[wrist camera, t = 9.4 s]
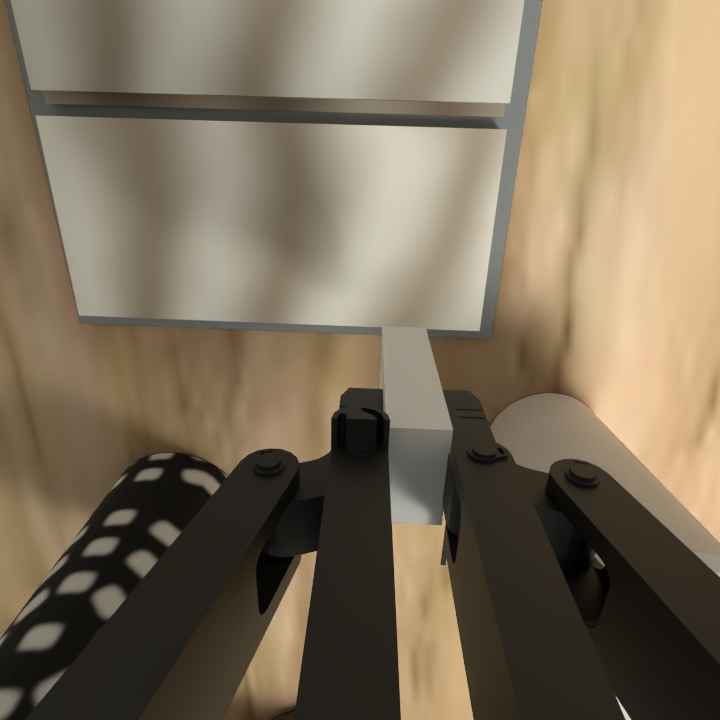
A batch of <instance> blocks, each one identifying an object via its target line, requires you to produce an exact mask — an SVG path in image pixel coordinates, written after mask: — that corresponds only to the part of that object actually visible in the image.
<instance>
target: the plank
mask: <svg viewBox="0 0 720 720" xmlns="http://www.w3.org/2000/svg"><path fill="white" fill-rule="evenodd" d="M35 116H36V120H37V125H38V130H39V134H40V139H41V143H42V148H43V152H44V157H45V162H46V166H47V171H48V175H49V180H50V185H51V189H52V194H53V198H54V203H55V208H56V212H57V217H58V221H59V226H60V231H61V235H62V240H63V244H64V249H65V254H66V258H67V263H68V267H69V272H70V277H71V281H72V286H73V290H74V295H75V300H76V304H77V309H78V313H79V316H104V317H129V318H155V319H180V320H206V321H232V322H257V323H283V324H308V325H334V326H360V327H382V326H393V327H421V328H426V329H437V330H462V331H480V324H481V317H482V309H483V302H484V294H485V287H486V280H487V272H488V265H489V258H490V250H491V243H492V236H493V228H494V221H495V213H496V206H497V199H498V191H499V184H500V177H501V169H502V162H503V155H504V147H505V140H506V132H507V129H475V128H441V127H408V126H374V125H340V124H306V123H273V122H239V121H205V120H172V119H138V118H104V117H70V116H37V115H35Z"/></svg>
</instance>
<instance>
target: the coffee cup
mask: <svg viewBox="0 0 720 720" xmlns="http://www.w3.org/2000/svg"><path fill="white" fill-rule="evenodd" d="M490 428H491V431H492V433H493V436H494V438H495V441H496V443H499V444H500V445H502V446H504V447H505V448H507V449H508V450H509V452H510V453H511V454H512V456H513V458H514V460H515V463H516V464H518V465H520V466H523V467H526V468H529V469H533V470H537V471H542V472H546V473H549V470H550V466H551V465H552V464H553V463H554V462H555V461H558V460H562V459H578V460H583V461H587V462H589V463H591V464H594V465H596V466H598V467H600V468H601V469H603V470H604V471H606V472H607V473H609V474H610V475H611V476H612V477H613V478H614V479H615V480H616V481H617V482H618V483H619V484H620V485H621V486H622V487H624V488H625V489H626V490H627V491H628V492H629V493H630V494H631V495H632V496H633V497H634V498H635V499H636V500H638V501H639V502H640V503H641V504H642V505H643V506H644V507H645V508H646V509H647V510H648V511H649V512H650V513H651V514H653V515H654V516H655V517H656V518H657V519H658V520H659V521H660V522H661V523H662V524H663V525H664V526H665V527H667V528H668V529H669V530H670V531H671V532H672V533H673V534H674V535H675V536H676V537H677V538H678V539H679V540H680V541H682V542H683V543H684V544H685V545H686V546H687V547H688V548H689V549H690V550H691V551H692V552H693V553H694V554H696V555H697V556H698V557H699V558H700V559H701V560H702V561H703V562H704V563H705V564H706V565H707V566H708V567H709V568H711V569H712V570H713V571H714V572H715V573H716V574H717V575H718V576H719V577H720V543H719V542H718V541H717V540H716V539H715V538H714V537H713V536H712V535H711V534H710V532H709V531H708V530H707V529H706V528H705V527H704V526H703V525H702V524H701V523H700V522H699V521H698V520H697V519H696V518H695V517H694V516H693V515H692V514H691V513H690V512H689V511H688V510H687V509H686V508H685V507H684V506H683V505H682V504H681V503H680V502H679V501H678V500H677V499H676V498H675V497H674V496H673V495H672V494H671V493H670V492H669V490H668V489H667V488H666V487H665V486H664V485H663V484H662V483H661V482H660V481H659V480H658V479H657V478H656V477H655V476H654V475H653V474H652V473H651V472H650V471H649V470H648V469H647V468H646V467H645V466H644V465H643V464H642V463H641V462H640V461H639V460H638V458H637V457H636V456H635V455H634V454H633V453H632V452H631V451H630V450H629V449H628V448H627V447H626V446H625V445H624V444H623V443H622V442H621V441H620V440H619V439H618V438H617V437H616V436H615V435H614V434H613V433H612V432H611V431H610V429H609V428H608V427H607V426H606V425H605V424H604V423H603V422H602V421H601V420H600V419H599V418H598V417H597V416H596V415H595V414H594V413H593V412H592V411H591V410H590V409H589V408H588V407H587V406H586V405H585V404H584V403H582V402H581V401H579V400H577V399H575V398H573V397H570V396H567V395H564V394H558V393H541V394H535V395H531V396H528V397H525V398H522V399H520V400H518V401H516V402H514V403H512V404H511V405H509V406H508V407H506V408H505V409H504V410H503V411H502V412H501V413H500V414H499V415H498V416H497V417H496V418H495V420H494V421H493V423H492V424H491V426H490ZM595 557H596V559H597V560H598V561H599V562H600V563H601V564H602V565H603V566H605V565H604V563H603V561H602V560H601V559H600V557H599V556H598V555H597V554H596V553H595ZM616 698H617V697H616ZM617 701H618V703H619V705H620V708H621V710H622V712H623V715H624V717H625V719H626V720H631V718H630V717H629V715H628V714H627V712H626V711H625V709H624V708H623V706H622V705H621V703H620V702H619V700H618V699H617Z"/></svg>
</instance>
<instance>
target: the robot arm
mask: <svg viewBox="0 0 720 720" xmlns="http://www.w3.org/2000/svg"><path fill="white" fill-rule="evenodd" d="M443 509H444V514H445V520H446V526H445V534H444V542H443V550H442V558H441V565H446V558H447V562H448V568H449V574H450V580H451V586H452V592H453V598H454V604H455V610H456V616H457V622H458V628H459V634H460V640H461V646H462V652H463V658H464V664H465V670H466V676H467V682H468V688H469V694H470V700H471V706H472V712H473V718H474V720H626V719H625V717H624V715H623V712H622V710H621V708H620V705H619V703H618V701H617V699H618V700H619V702H620V703H621V705H622V706H623V708H624V709H625V711H626V712H627V714H628V715H629V717H630V718H631V720H720V577H719V576H718V575H717V574H716V573H715V572H714V571H713V570H712V569H711V568H709V567H708V566H707V565H706V564H705V563H704V562H703V561H702V560H701V559H700V558H699V557H698V556H697V555H696V554H694V553H693V552H692V551H691V550H690V549H689V548H688V547H687V546H686V545H685V544H684V543H683V542H682V541H680V540H679V539H678V538H677V537H676V536H675V535H674V534H673V533H672V532H671V531H670V530H669V529H668V528H667V527H665V526H664V525H663V524H662V523H661V522H660V521H659V520H658V519H657V518H656V517H655V516H654V515H653V514H651V513H650V512H649V511H648V510H647V509H646V508H645V507H644V506H643V505H642V504H641V503H640V502H639V501H638V500H636V499H635V498H634V497H633V496H632V495H631V494H630V493H629V492H628V491H627V490H626V489H625V488H624V487H622V486H621V485H620V484H619V483H618V482H617V481H616V480H615V479H614V478H613V477H612V476H611V475H610V474H609V473H607V472H606V471H604V470H603V469H601V468H600V467H598V466H596V465H594V464H591V463H589V462H587V461H583V460H578V459H562V460H558V461H555V462H554V463H553V464H552V465H551V466H550V470H549V473H546V472H542V471H537V470H533V469H529V468H526V467H523V466H520V465H518V464H516V463H515V460H514V458H513V456H512V454H511V453H510V452H509V450H508V449H507V448H505V447H504V446H502V445H500V444H499V443H496V441H495V438H494V436H493V433H492V431H491V428H490V426H489V423H488V421H487V420H486V416H485V413H484V411H483V408H482V406H481V403H480V401H479V399H478V398H476V397H475V396H474V395H473V394H472V393H470V392H469V391H452V390H442V387H441V383H440V379H439V375H438V372H437V368H436V364H435V360H434V357H433V353H432V349H431V345H430V342H429V338H428V334H427V330H426V328H421V327H393V326H382V343H381V363H380V383H379V389H365V388H349V389H348V390H347V391H346V392H345V393H344V394H342V395H341V400H340V407H339V410H337V411H336V412H334V414H333V416H332V418H331V451H330V452H329V453H328V454H326V455H325V456H323V457H321V458H319V459H316V460H312V461H308V462H303V463H299V462H298V459H297V457H296V456H294V455H293V454H292V453H291V452H288V451H285V450H282V449H264V450H258V451H256V452H254V453H251V454H249V455H248V456H246V457H245V458H244V459H243V460H241V462H240V463H239V464H238V465H237V466H236V468H235V469H234V470H233V471H232V472H231V474H230V475H229V476H228V477H227V478H226V480H225V481H224V482H223V483H222V484H221V486H220V487H219V488H218V489H217V490H216V492H215V493H214V494H213V495H212V496H211V497H210V499H209V500H208V501H207V502H206V503H205V505H204V506H203V507H202V508H201V509H200V511H199V512H198V513H197V514H196V515H195V517H194V518H193V519H192V520H191V521H190V523H189V524H188V525H187V526H186V527H185V529H184V530H183V531H182V532H181V533H180V535H179V536H178V537H177V538H176V539H175V541H174V542H173V543H172V544H171V545H170V547H169V548H168V549H167V550H166V551H165V552H164V554H163V555H162V556H161V557H160V558H159V560H158V561H157V562H156V563H155V564H154V566H153V567H152V568H151V569H150V570H149V572H148V573H147V574H146V575H145V576H144V578H143V579H142V580H141V581H140V582H139V584H138V585H137V586H136V587H135V588H134V590H133V591H132V592H131V593H130V594H129V596H128V597H127V598H126V599H125V600H124V602H123V603H122V604H121V605H120V606H119V608H118V609H117V610H116V611H115V612H114V613H113V615H112V616H111V617H110V618H109V619H108V621H107V622H106V623H105V624H104V625H103V627H102V628H101V629H100V630H99V631H98V633H97V634H96V635H95V636H94V637H93V639H92V640H91V641H90V642H89V643H88V645H87V646H86V647H85V648H84V649H83V651H82V652H81V653H80V654H79V655H78V657H77V658H76V659H75V660H74V661H73V663H72V664H71V665H70V666H69V667H68V669H67V670H66V671H65V672H64V673H63V674H62V676H61V677H60V678H59V679H58V680H57V682H56V683H55V684H54V685H53V686H52V688H51V689H50V690H49V691H48V692H47V694H46V695H45V696H44V697H43V698H42V700H41V701H40V702H39V703H38V704H37V706H36V707H35V708H34V709H33V710H32V712H31V713H30V714H29V715H28V716H27V718H26V719H25V720H222V719H223V717H224V715H225V713H226V711H227V709H228V707H229V705H230V703H231V701H232V699H233V697H234V695H235V693H236V691H237V689H238V687H239V685H240V683H241V681H242V679H243V677H244V675H245V673H246V671H247V669H248V667H249V665H250V662H251V660H252V658H253V656H254V654H255V652H256V650H257V648H258V646H259V644H260V642H261V640H262V638H263V636H264V634H265V632H266V630H267V628H268V626H269V624H270V622H271V620H272V618H273V616H274V614H275V612H276V610H277V608H278V606H279V604H280V602H281V600H282V598H283V596H284V594H285V592H286V590H287V587H288V585H289V583H290V581H291V579H292V577H293V575H294V573H295V571H296V569H297V567H298V565H299V563H300V560H301V555H302V554H305V553H309V552H314V551H317V557H316V564H315V571H314V578H313V586H312V593H311V600H310V607H309V615H308V622H307V629H306V636H305V644H304V651H303V658H302V665H301V673H300V680H299V687H298V695H297V702H296V709H295V711H293V712H290V713H287V714H284V715H282V716H279V717H277V718H275V719H273V720H401V714H400V692H399V670H398V649H397V627H396V606H395V584H394V562H393V541H392V523H407V524H431V525H442V517H443ZM595 553H596V554H597V555H598V556H599V557H600V559H601V560H602V561H603V563H604V565H605V566H603V565H602V564H601V563H600V562H599V561H598V560H597V559H596V557H595ZM616 697H617V698H616Z"/></svg>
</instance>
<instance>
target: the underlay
mask: <svg viewBox="0 0 720 720" xmlns="http://www.w3.org/2000/svg"><path fill="white" fill-rule="evenodd" d="M5 2H6V6H7V10H8V15H9V19H10V23H11V28H12V32H13V36H14V41H15V45H16V49H17V54H18V58H19V62H20V66H21V71H22V75H23V79H24V84H25V88H26V92H27V97H28V101H29V105H30V110H31V114H32V118H33V122H34V127H35V131H36V135H37V140H38V144H39V148H40V153H41V157H42V161H43V166H44V170H45V174H46V178H47V183H48V187H49V191H50V196H51V200H52V204H53V209H54V213H55V217H56V222H57V226H58V230H59V235H60V239H61V243H62V247H63V252H64V256H65V260H66V265H67V269H68V273H69V278H70V282H71V286H72V281H71V277H70V272H69V267H68V263H67V258H66V254H65V249H64V244H63V240H62V235H61V231H60V226H59V221H58V217H57V212H56V208H55V203H54V198H53V194H52V189H51V185H50V180H49V175H48V171H47V166H46V162H45V157H44V152H43V148H42V143H41V139H40V134H39V130H38V125H37V120H36V116H35V115H37V116H70V117H104V118H138V119H172V120H205V121H239V122H273V123H306V124H340V125H374V126H408V127H441V128H475V129H507V132H506V140H505V147H504V155H503V162H502V169H501V177H500V184H499V191H498V199H497V206H496V213H495V221H494V228H493V236H492V243H491V250H490V258H489V265H488V272H487V280H486V287H485V294H484V302H483V309H482V317H481V324H480V331H462V330H437V329H426V330H427V334H428V337H443V338H468V339H491V335H492V329H493V322H494V316H495V309H496V303H497V296H498V290H499V283H500V277H501V270H502V264H503V257H504V250H505V244H506V237H507V231H508V224H509V218H510V211H511V205H512V198H513V192H514V185H515V179H516V172H517V165H518V159H519V152H520V146H521V139H522V133H523V126H524V120H525V113H526V107H527V100H528V93H529V87H530V80H531V74H532V67H533V61H534V54H535V48H536V41H537V35H538V28H539V22H540V15H541V8H542V2H543V0H524V7H523V14H522V21H521V28H520V35H519V43H518V50H517V57H516V64H515V71H514V78H513V86H512V93H511V100H510V103H509V104H506V105H505V112H504V117H475V116H441V115H407V114H372V113H338V112H303V111H269V110H235V109H200V108H166V107H132V106H97V105H63V104H46V103H45V99H44V94H43V91H40V90H31V87H30V83H29V79H28V74H27V70H26V65H25V61H24V57H23V52H22V48H21V44H20V39H19V35H18V30H17V26H16V22H15V17H14V13H13V8H12V4H11V0H5ZM72 291H73V295H74V290H73V286H72ZM74 299H75V295H74ZM75 303H76V300H75ZM76 308H77V304H76ZM77 312H78V309H77ZM78 316H79V313H78ZM79 321H80V323H88V324H113V325H138V326H164V327H189V328H214V329H240V330H265V331H291V332H316V333H341V334H367V335H382V327H360V326H334V325H308V324H283V323H257V322H232V321H206V320H180V319H155V318H129V317H104V316H79Z"/></svg>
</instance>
